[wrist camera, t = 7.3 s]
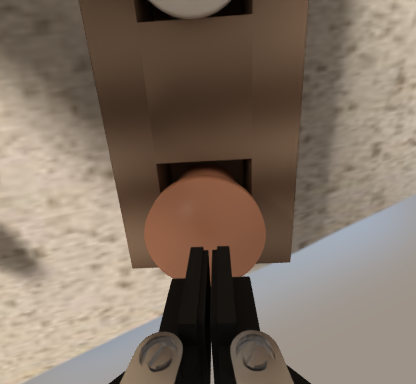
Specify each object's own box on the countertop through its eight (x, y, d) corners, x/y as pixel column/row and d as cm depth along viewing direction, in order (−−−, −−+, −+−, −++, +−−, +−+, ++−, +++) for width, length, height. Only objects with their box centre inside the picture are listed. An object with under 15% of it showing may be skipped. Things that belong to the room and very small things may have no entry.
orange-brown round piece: (159, 156, 18) (134, 183, 12) (249, 151, 17) (267, 177, 12) (169, 234, 20) (153, 288, 14) (249, 231, 20) (264, 284, 14)
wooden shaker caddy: (105, -84, 17) (39, -196, 11) (280, -99, 17) (324, -226, 10) (152, 224, 26) (132, 268, 19) (269, 219, 25) (290, 262, 19)
